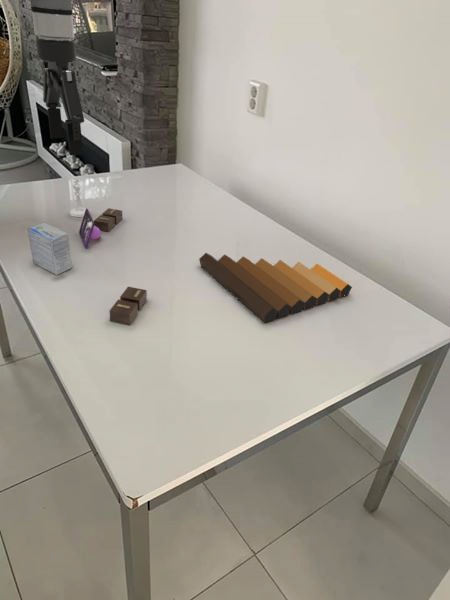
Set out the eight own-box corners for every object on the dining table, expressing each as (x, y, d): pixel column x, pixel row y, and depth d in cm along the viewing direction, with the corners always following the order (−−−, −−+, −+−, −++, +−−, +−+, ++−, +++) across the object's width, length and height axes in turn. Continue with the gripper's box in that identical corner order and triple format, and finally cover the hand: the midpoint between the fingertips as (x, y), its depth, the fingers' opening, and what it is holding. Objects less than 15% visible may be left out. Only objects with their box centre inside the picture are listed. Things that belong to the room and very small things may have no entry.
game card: (83, 207, 111) (89, 222, 105) (103, 212, 114) (111, 227, 108) (75, 231, 114) (82, 247, 107) (96, 236, 117) (103, 252, 110)
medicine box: (72, 268, 100) (69, 233, 95) (56, 276, 97) (51, 239, 92) (49, 256, 103) (44, 221, 98) (32, 263, 100) (26, 227, 95)
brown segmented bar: (109, 321, 86) (109, 309, 84) (128, 296, 93) (128, 285, 92) (129, 325, 85) (129, 314, 84) (146, 300, 92) (146, 289, 91)
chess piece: (92, 212, 125) (89, 177, 120) (80, 218, 121) (77, 182, 116) (78, 208, 127) (74, 173, 121) (65, 214, 123) (62, 178, 117)
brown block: (94, 229, 117) (93, 220, 115) (108, 216, 124) (108, 207, 123) (108, 232, 116) (108, 222, 115) (122, 219, 124) (122, 210, 122)
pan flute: (198, 266, 106) (262, 324, 89) (199, 254, 104) (265, 310, 87) (280, 247, 118) (349, 294, 102) (282, 235, 117) (353, 282, 100)
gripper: (95, 47, 84) (102, 160, 96) (55, 32, 101) (65, 130, 113) (55, 45, 80) (67, 163, 92) (19, 30, 97) (34, 132, 109)
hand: (66, 145), depth 102 cm, fingers open, 13 cm apart
